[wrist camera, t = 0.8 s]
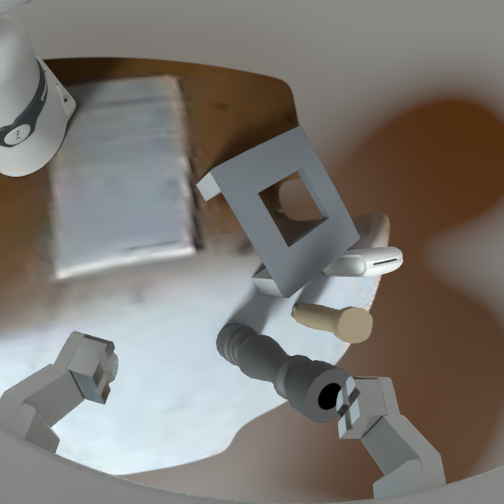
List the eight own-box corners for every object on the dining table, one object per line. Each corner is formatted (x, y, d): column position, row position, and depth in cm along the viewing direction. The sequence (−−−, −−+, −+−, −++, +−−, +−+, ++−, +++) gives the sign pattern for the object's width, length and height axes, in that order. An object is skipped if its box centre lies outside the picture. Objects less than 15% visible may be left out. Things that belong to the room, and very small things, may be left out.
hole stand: (196, 184, 48) (212, 168, 40) (273, 144, 54) (300, 125, 45) (260, 293, 52) (288, 298, 43) (327, 241, 57) (360, 238, 49)
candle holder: (246, 317, 51) (350, 354, 28) (256, 351, 51) (358, 405, 28) (211, 330, 48) (295, 384, 25) (222, 365, 49) (309, 436, 26)
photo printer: (359, 247, 61) (407, 243, 49) (362, 269, 61) (409, 269, 49) (318, 254, 56) (365, 251, 45) (321, 278, 57) (368, 280, 45)
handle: (285, 295, 53) (342, 304, 40) (315, 301, 56) (375, 310, 42) (279, 323, 53) (334, 341, 39) (310, 328, 55) (368, 344, 41)
